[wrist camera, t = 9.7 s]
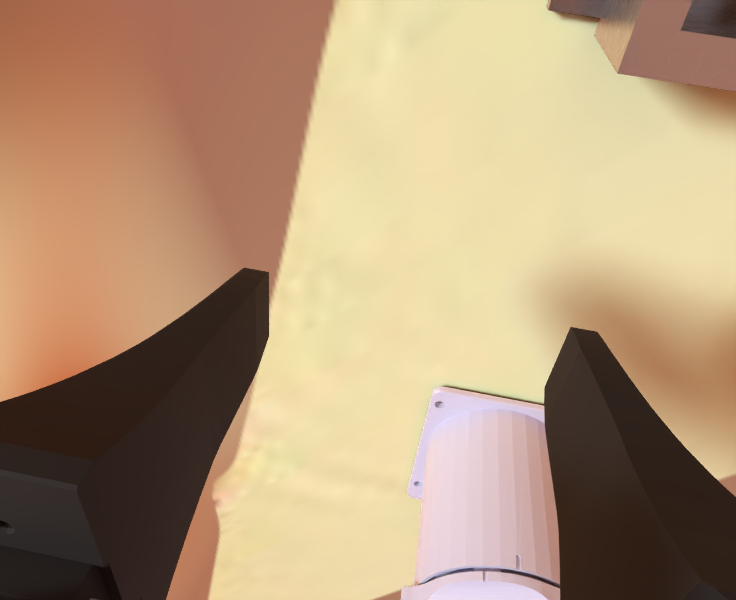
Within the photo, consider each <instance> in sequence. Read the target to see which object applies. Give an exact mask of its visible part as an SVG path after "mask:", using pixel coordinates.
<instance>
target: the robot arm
mask: <svg viewBox="0 0 736 600" xmlns="http://www.w3.org/2000/svg"><path fill="white" fill-rule="evenodd" d="M268 337H269V272H265V271H259V270H254V269H248V268H243V269H242V270H240V271H239V272H238V273H236V274H235V275H234V276H233V277H231V278H230V279H229V280H228V281H226V282H225V283H224V284H223V285H221V286H220V287H219V288H218V289H216V290H215V291H214V292H213V293H211V294H210V295H209V296H208V297H206V298H205V299H204V300H202V301H201V302H200V303H198V304H197V305H196V306H194V307H193V308H192V309H190V310H189V311H188V312H186V313H185V314H184V315H183V316H181V317H179V318H178V319H176V320H175V321H173V322H172V323H171V324H169V325H167V326H166V327H165V328H163V329H162V330H160V331H159V332H157V333H156V334H154V335H152V336H151V337H149V338H148V339H146V340H144V341H143V342H141V343H139V344H138V345H136V346H134V347H132V348H130V349H129V350H127V351H125V352H123V353H121V354H119V355H118V356H115V357H114V358H111V359H109V360H107V361H105V362H103V363H101V364H98V365H96V366H94V367H92V368H90V369H88V370H86V371H83V372H81V373H79V374H77V375H75V376H72V377H70V378H67V379H65V380H62V381H60V382H57V383H55V384H52V385H50V386H47V387H44V388H41V389H39V390H36V391H33V392H30V393H27V394H24V395H21V396H18V397H15V398H12V399H9V400H6V401H2V402H0V600H166V597H167V594H168V591H169V588H170V584H171V581H172V578H173V575H174V572H175V569H176V566H177V563H178V560H179V557H180V554H181V551H182V548H183V545H184V541H185V539H186V535H187V532H188V530H189V527H190V524H191V521H192V518H193V515H194V513H195V510H196V507H197V504H198V501H199V498H200V496H201V493H202V490H203V488H204V485H205V482H206V479H207V476H208V474H209V471H210V469H211V466H212V463H213V460H214V458H215V456H216V454H217V451H218V449H219V447H220V445H221V443H222V441H223V439H224V437H225V435H226V433H227V431H228V429H229V427H230V425H231V423H232V421H233V418H234V416H235V414H236V412H237V411H238V409H239V407H240V405H241V403H242V401H243V399H244V397H245V395H246V392H247V390H248V388H249V386H250V384H251V382H252V380H253V378H254V376H255V374H256V372H257V370H258V367H259V364H260V361H261V358H262V355H263V352H264V349H265V346H266V343H267V340H268ZM438 401H441V402H442V403H439V402H438ZM407 494H408V495H409V496H410V497H412V498H416V499H421V500H422V506H421V516H420V527H419V537H418V547H417V558H416V568H415V578H414V586H404V587H402V592H401V600H736V497H735V496H734V495H733V494H732V493H730V492H729V491H728V490H727V489H726V488H725V487H724V486H723V485H722V484H721V483H720V482H719V481H718V480H717V479H716V478H714V477H713V476H712V475H711V474H710V473H709V472H708V471H707V470H706V469H705V468H704V467H703V465H702V464H701V463H700V462H699V461H698V460H697V459H696V458H695V457H694V456H693V455H692V454H691V453H690V452H689V451H688V450H687V449H686V448H685V447H684V446H683V444H682V443H681V442H680V441H679V440H678V439H677V438H676V437H675V435H674V434H673V433H672V432H671V431H670V429H669V428H668V427H667V426H666V425H665V423H664V422H663V421H662V420H661V419H660V417H659V416H658V415H657V414H656V413H655V411H654V410H653V409H652V407H651V406H650V405H649V404H648V402H647V401H646V400H645V398H644V397H643V396H642V394H641V393H640V392H639V390H638V389H637V388H636V386H635V385H634V384H633V382H632V381H631V379H630V378H629V377H628V375H627V374H626V372H625V371H624V370H623V368H622V367H621V365H620V364H619V362H618V361H617V359H616V358H615V357H614V355H613V354H612V352H611V351H610V349H609V348H608V346H607V345H606V343H605V342H604V341H603V339H602V338H601V336H600V335H599V334H598V332H595V331H589V330H584V329H578V328H573V327H571V328H570V330H569V332H568V335H567V337H566V339H565V342H564V344H563V346H562V348H561V351H560V353H559V355H558V358H557V360H556V362H555V365H554V367H553V369H552V372H551V374H550V376H549V379H548V381H547V383H546V385H545V396H544V406H543V405H538V404H533V403H528V402H522V401H517V400H512V399H507V398H501V397H496V396H491V395H486V394H480V393H475V392H470V391H465V390H459V389H454V388H449V387H443V386H440V387H436V388H435V389H433V391H432V395H431V399H430V403H429V406H428V410H427V414H426V418H425V422H424V426H423V430H422V434H421V438H420V442H419V445H418V449H417V453H416V457H415V461H414V465H413V469H412V473H411V477H410V480H409V484H408V490H407Z"/></svg>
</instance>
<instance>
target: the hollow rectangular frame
mask: <svg viewBox="0 0 736 600" xmlns="http://www.w3.org/2000/svg"><path fill="white" fill-rule="evenodd" d="M692 1H693V0H606V1H605V4H604V7H603V10H602V13H601V16H600V20H599V23H598V26H597V29H596V32H595V35H594V36H595V37H596V39H597V41H598V42H599V44H600V46H601V47H602V49H603V51H604V52H605V54H606V56H607V57H608V59H609V61H610V62H611V64H612V66H613V67H614V69H615V71H616V72H617V73H618V74H625V75H631V76H638V77H644V78H651V79H657V80H664V81H670V82H677V83H683V84H690V85H696V86H703V87H709V88H716V89H723V90H729V91H736V7H735V9H734V11H728V10H721V9H715V8H708V7H701V6H694V5H691V3H692Z"/></svg>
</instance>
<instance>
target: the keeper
mask: <svg viewBox="0 0 736 600" xmlns="http://www.w3.org/2000/svg"><path fill="white" fill-rule="evenodd" d="M605 1H606V0H548V3H547V8H548V10H550V11H557V12H563V13H570V14H577V15H584V16H590V17H597V18H600V16H601V13H602V10H603V7H604V4H605ZM691 5H694V6H701V7H708V8H715V9H721V10H728V11H734V9H735V7H736V0H693V1H692V3H691Z"/></svg>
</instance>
